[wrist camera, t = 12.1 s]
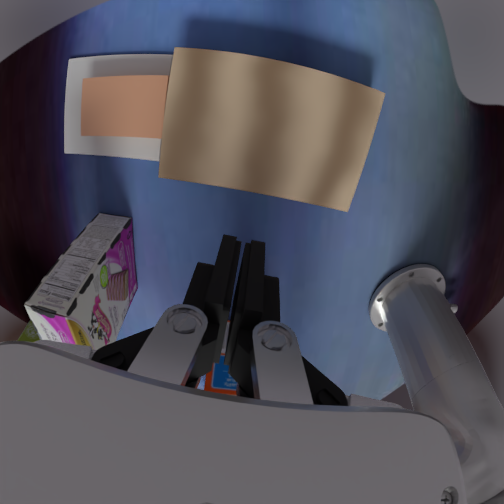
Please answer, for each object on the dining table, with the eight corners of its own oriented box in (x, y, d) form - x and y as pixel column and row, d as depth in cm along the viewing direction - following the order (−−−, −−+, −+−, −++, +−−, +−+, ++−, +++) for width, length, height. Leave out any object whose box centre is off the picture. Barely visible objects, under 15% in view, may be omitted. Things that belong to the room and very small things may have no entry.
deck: (370, 90, 23) (385, 93, 20) (338, 197, 30) (347, 211, 27) (184, 50, 21) (174, 47, 18) (168, 166, 28) (158, 177, 25)
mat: (173, 54, 22) (172, 54, 21) (159, 160, 28) (159, 161, 27) (70, 59, 20) (68, 59, 20) (65, 152, 26) (64, 153, 26)
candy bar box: (140, 288, 37) (99, 392, 24) (108, 282, 37) (59, 378, 23) (135, 215, 31) (66, 319, 17) (98, 210, 31) (19, 304, 17)
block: (174, 75, 22) (168, 75, 21) (168, 134, 26) (162, 138, 24) (92, 77, 22) (82, 78, 20) (90, 131, 25) (80, 135, 23)
